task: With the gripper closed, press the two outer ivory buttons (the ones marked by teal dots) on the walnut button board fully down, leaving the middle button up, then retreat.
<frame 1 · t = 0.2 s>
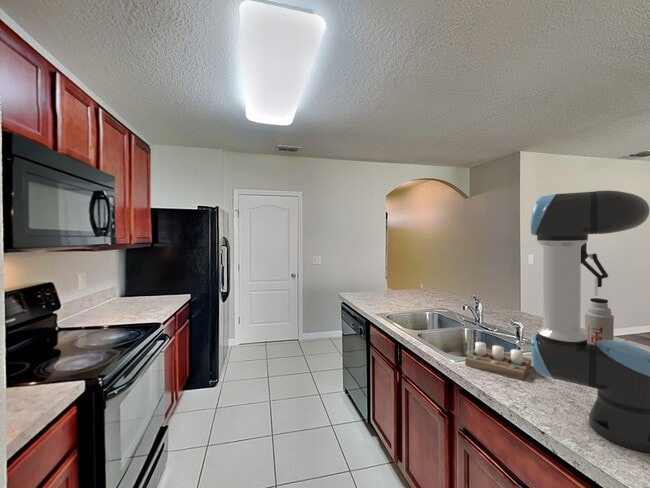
hand: (574, 293, 125), 28 cm above the counter, fingers open, 13 cm apart
button board: (498, 365, 123), on the counter
button 1: (516, 357, 119), point 5 cm above the counter, slide at 0.0 cm
thermos bottle: (598, 373, 115), on the counter
button 3: (480, 349, 127), point 5 cm above the counter, slide at 0.0 cm
button 2: (498, 353, 123), point 5 cm above the counter, slide at 0.0 cm
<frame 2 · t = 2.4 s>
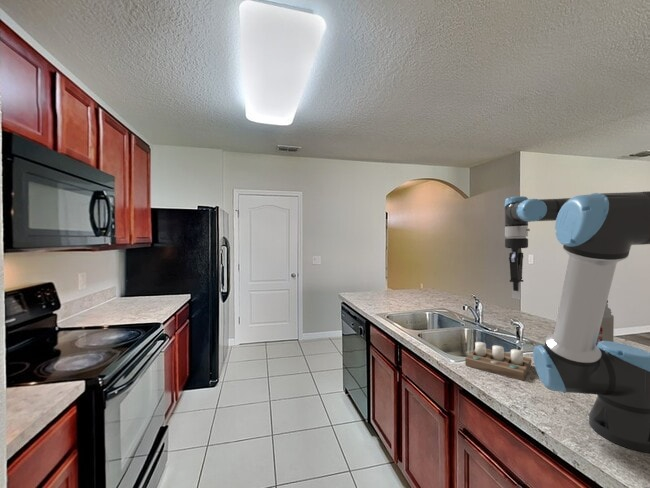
hand: (516, 298, 118), 28 cm above the counter, fingers closed
nothing on the counter moved.
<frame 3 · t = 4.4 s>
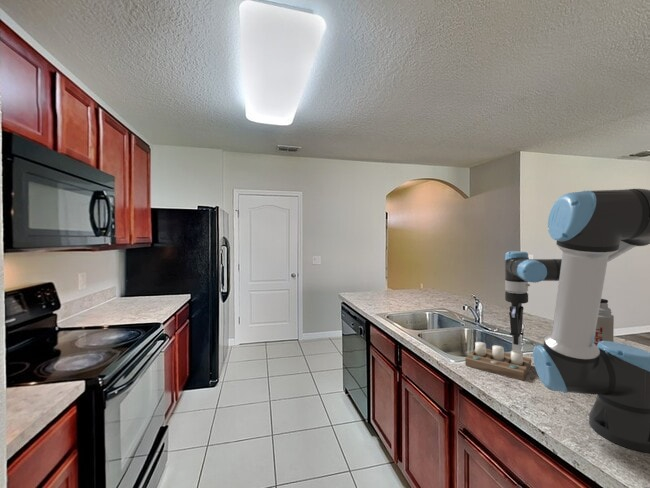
hand: (516, 351, 119), 7 cm above the counter, fingers closed
button 1: (516, 358, 119), point 4 cm above the counter, slide at 0.5 cm, touching gripper
everything else where it was.
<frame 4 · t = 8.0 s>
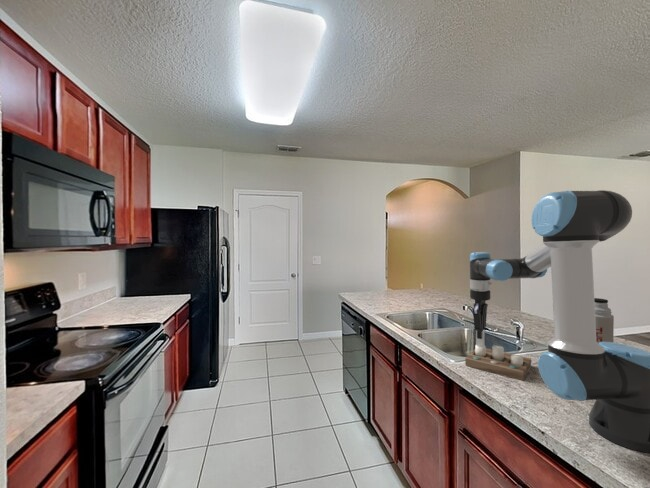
hand: (480, 345, 128), 7 cm above the counter, fingers closed
button 1: (516, 363, 119), point 3 cm above the counter, slide at 2.3 cm
button 3: (480, 352, 128), point 4 cm above the counter, slide at 1.1 cm, touching gripper
everything else where it was.
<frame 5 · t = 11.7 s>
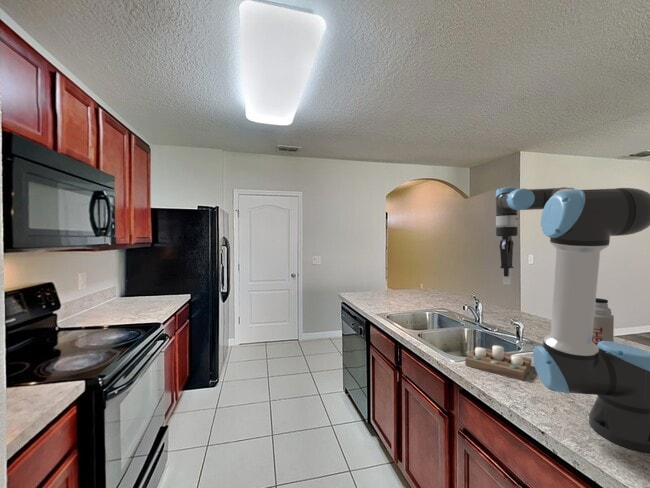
hand: (506, 284, 125), 32 cm above the counter, fingers closed
button 3: (480, 354, 128), point 3 cm above the counter, slide at 2.3 cm
everything else where it was.
at the end: button 1 slide at 2.3 cm; button 3 slide at 2.3 cm; button 2 slide at 0.0 cm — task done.
